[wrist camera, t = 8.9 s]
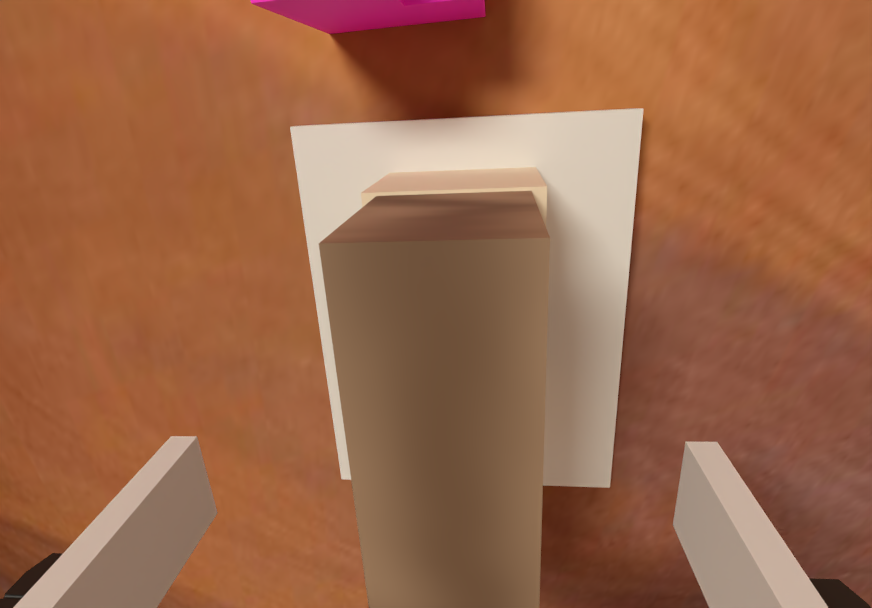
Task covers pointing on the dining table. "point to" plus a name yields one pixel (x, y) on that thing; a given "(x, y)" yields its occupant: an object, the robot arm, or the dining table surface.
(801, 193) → the dining table surface
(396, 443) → the lintel block
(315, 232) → the post board
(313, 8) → the toy block
